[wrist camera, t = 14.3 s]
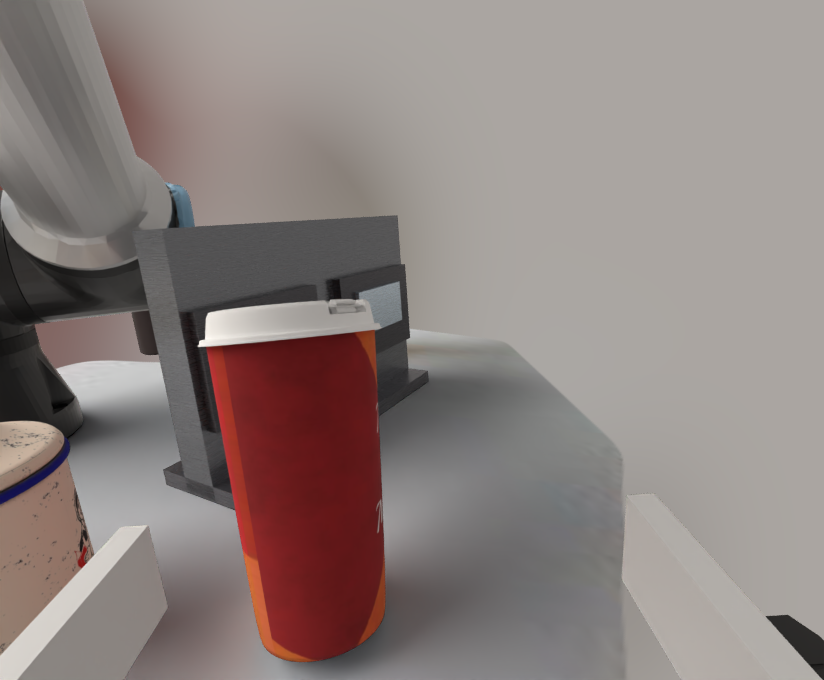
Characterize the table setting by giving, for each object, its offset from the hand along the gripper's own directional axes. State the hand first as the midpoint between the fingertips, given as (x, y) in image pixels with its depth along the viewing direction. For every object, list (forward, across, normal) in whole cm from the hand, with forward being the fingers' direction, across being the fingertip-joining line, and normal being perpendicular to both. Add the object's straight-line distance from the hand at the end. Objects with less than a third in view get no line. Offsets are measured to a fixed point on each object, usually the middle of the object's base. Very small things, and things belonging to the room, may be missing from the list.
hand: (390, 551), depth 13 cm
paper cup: (+6, -4, -8) cm, 11 cm away
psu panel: (+29, -8, -9) cm, 31 cm away
